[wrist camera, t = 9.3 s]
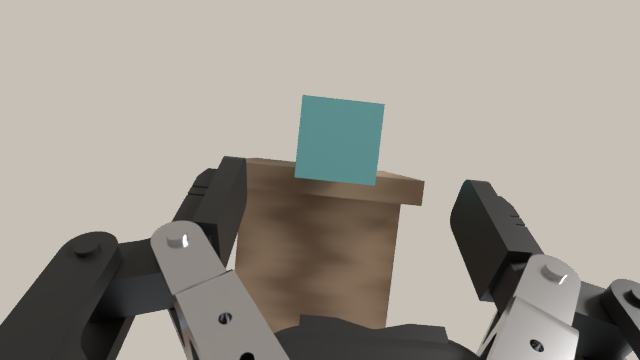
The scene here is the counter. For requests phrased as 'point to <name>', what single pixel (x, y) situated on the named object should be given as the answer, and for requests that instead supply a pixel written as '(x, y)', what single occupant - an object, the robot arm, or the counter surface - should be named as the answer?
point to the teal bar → (339, 140)
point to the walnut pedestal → (319, 244)
